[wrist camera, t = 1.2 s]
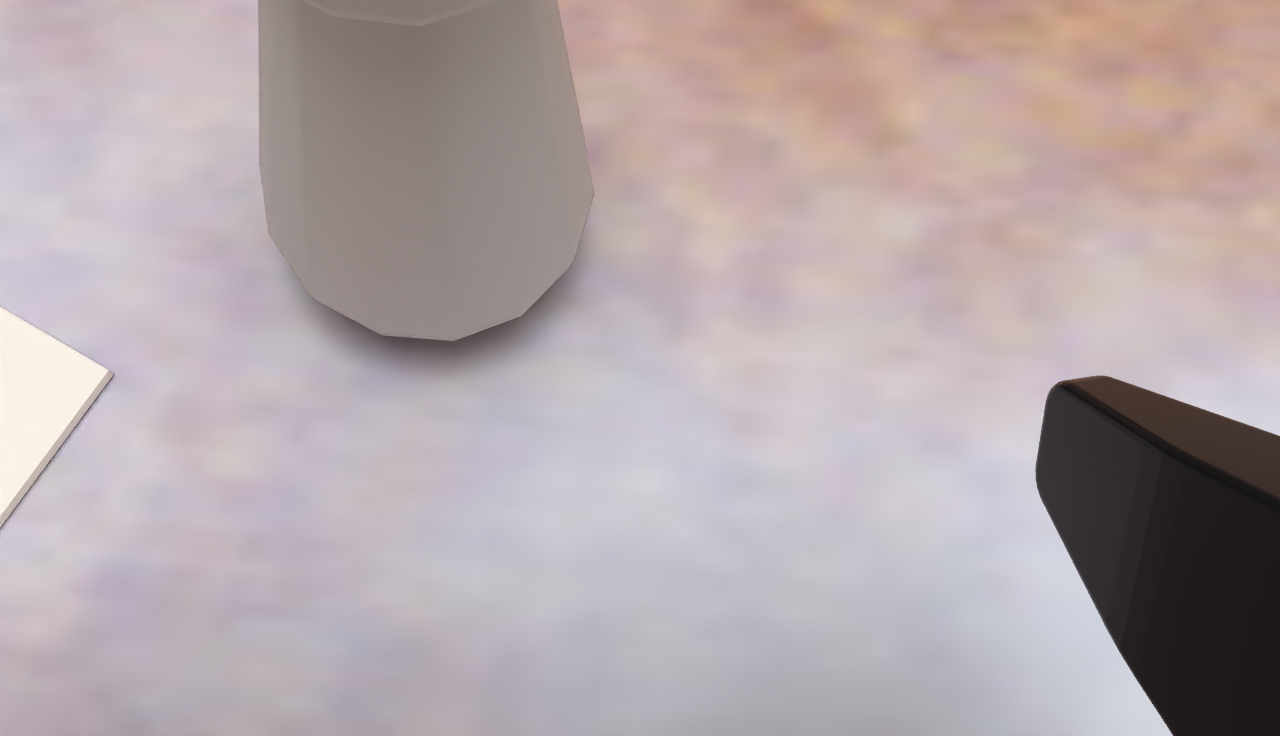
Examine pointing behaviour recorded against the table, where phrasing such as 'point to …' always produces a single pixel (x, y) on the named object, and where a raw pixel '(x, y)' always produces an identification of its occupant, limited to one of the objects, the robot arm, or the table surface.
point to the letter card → (38, 402)
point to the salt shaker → (421, 157)
